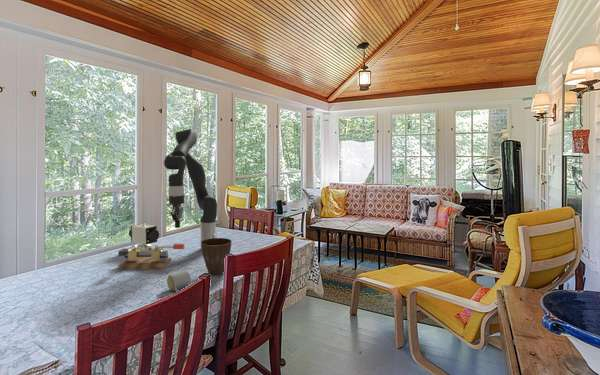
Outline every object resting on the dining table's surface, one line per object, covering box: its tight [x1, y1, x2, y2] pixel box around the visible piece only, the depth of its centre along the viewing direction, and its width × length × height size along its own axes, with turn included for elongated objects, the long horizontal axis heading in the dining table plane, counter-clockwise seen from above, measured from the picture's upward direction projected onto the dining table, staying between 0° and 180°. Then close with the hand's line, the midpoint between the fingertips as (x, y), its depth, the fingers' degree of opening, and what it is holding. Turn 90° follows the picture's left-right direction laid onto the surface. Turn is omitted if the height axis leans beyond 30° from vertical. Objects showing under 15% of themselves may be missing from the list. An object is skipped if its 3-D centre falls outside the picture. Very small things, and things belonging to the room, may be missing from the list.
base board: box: [118, 257, 173, 270], centre depth 180 cm, size 22×14×2 cm, turn 92°
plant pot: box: [200, 237, 232, 276], centre depth 169 cm, size 15×15×16 cm
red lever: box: [154, 243, 185, 250], centre depth 180 cm, size 2×15×2 cm, turn 92°
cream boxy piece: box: [128, 222, 160, 250], centre depth 204 cm, size 18×8×18 cm, turn 65°
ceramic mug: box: [166, 269, 192, 293], centre depth 147 cm, size 11×8×8 cm
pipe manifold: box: [122, 247, 169, 263], centre depth 180 cm, size 22×5×7 cm, turn 92°
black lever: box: [117, 244, 138, 257], centre depth 173 cm, size 2×15×2 cm, turn 1°
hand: (177, 227), depth 177 cm, fingers closed
